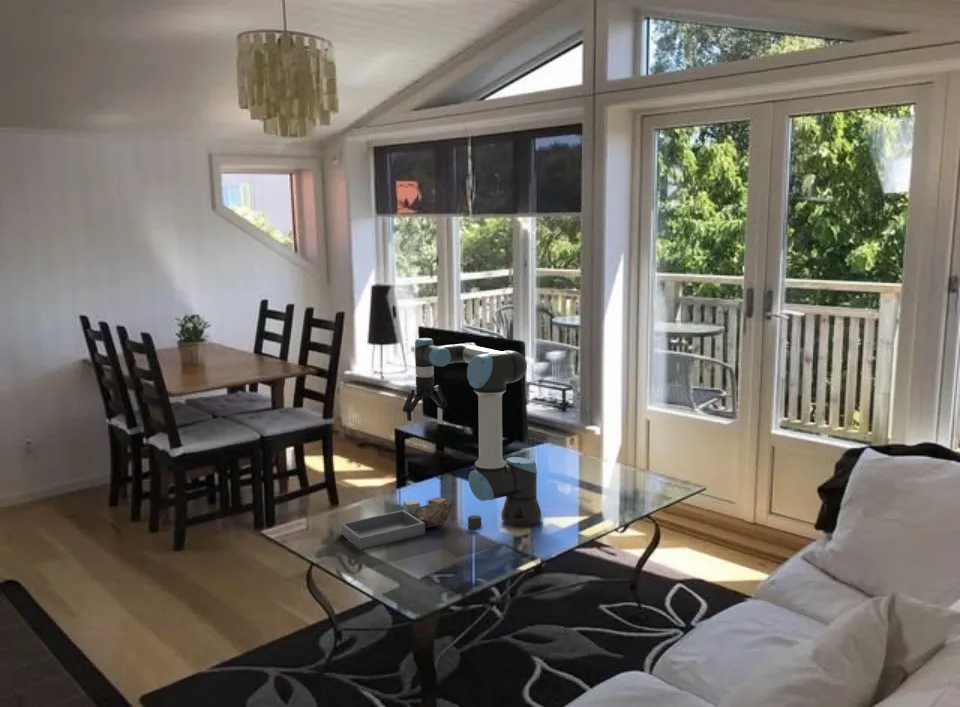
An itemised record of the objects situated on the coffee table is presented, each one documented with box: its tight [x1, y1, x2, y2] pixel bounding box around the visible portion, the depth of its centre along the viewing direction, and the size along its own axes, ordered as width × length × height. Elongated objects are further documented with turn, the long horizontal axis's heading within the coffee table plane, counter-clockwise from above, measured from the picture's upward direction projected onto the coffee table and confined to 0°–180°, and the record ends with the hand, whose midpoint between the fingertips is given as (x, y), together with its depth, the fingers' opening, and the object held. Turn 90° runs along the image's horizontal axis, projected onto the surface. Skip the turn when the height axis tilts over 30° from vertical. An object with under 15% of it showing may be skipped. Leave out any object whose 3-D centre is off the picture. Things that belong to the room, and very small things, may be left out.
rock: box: [411, 500, 453, 529], centre depth 305 cm, size 18×10×10 cm
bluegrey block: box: [403, 498, 421, 514], centre depth 316 cm, size 5×5×6 cm
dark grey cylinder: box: [467, 514, 482, 531], centre depth 303 cm, size 5×5×4 cm
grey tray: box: [340, 509, 426, 551], centre depth 297 cm, size 17×26×4 cm, turn 123°
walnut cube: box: [427, 496, 447, 504], centre depth 321 cm, size 5×5×5 cm
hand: (425, 425), depth 334 cm, fingers open, 13 cm apart
